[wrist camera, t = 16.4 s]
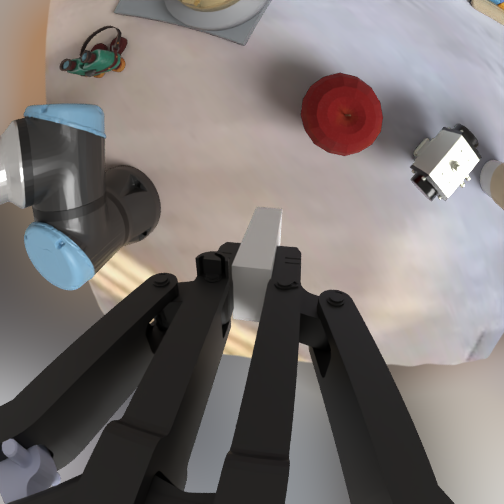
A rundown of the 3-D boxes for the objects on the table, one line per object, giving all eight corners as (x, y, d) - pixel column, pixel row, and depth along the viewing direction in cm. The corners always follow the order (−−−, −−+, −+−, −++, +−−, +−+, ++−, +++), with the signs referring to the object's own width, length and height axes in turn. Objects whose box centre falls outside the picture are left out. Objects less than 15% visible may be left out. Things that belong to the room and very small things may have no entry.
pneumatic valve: (394, 167, 40) (422, 188, 30) (435, 118, 35) (473, 125, 24) (415, 189, 41) (445, 215, 31) (455, 142, 36) (494, 156, 25)
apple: (323, 66, 35) (331, 52, 25) (382, 105, 36) (408, 106, 26) (287, 123, 40) (283, 129, 30) (346, 160, 41) (361, 178, 31)
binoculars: (98, 11, 25) (92, 66, 29) (132, 27, 35) (129, 74, 39) (59, 30, 26) (53, 82, 30) (94, 40, 36) (91, 85, 40)
